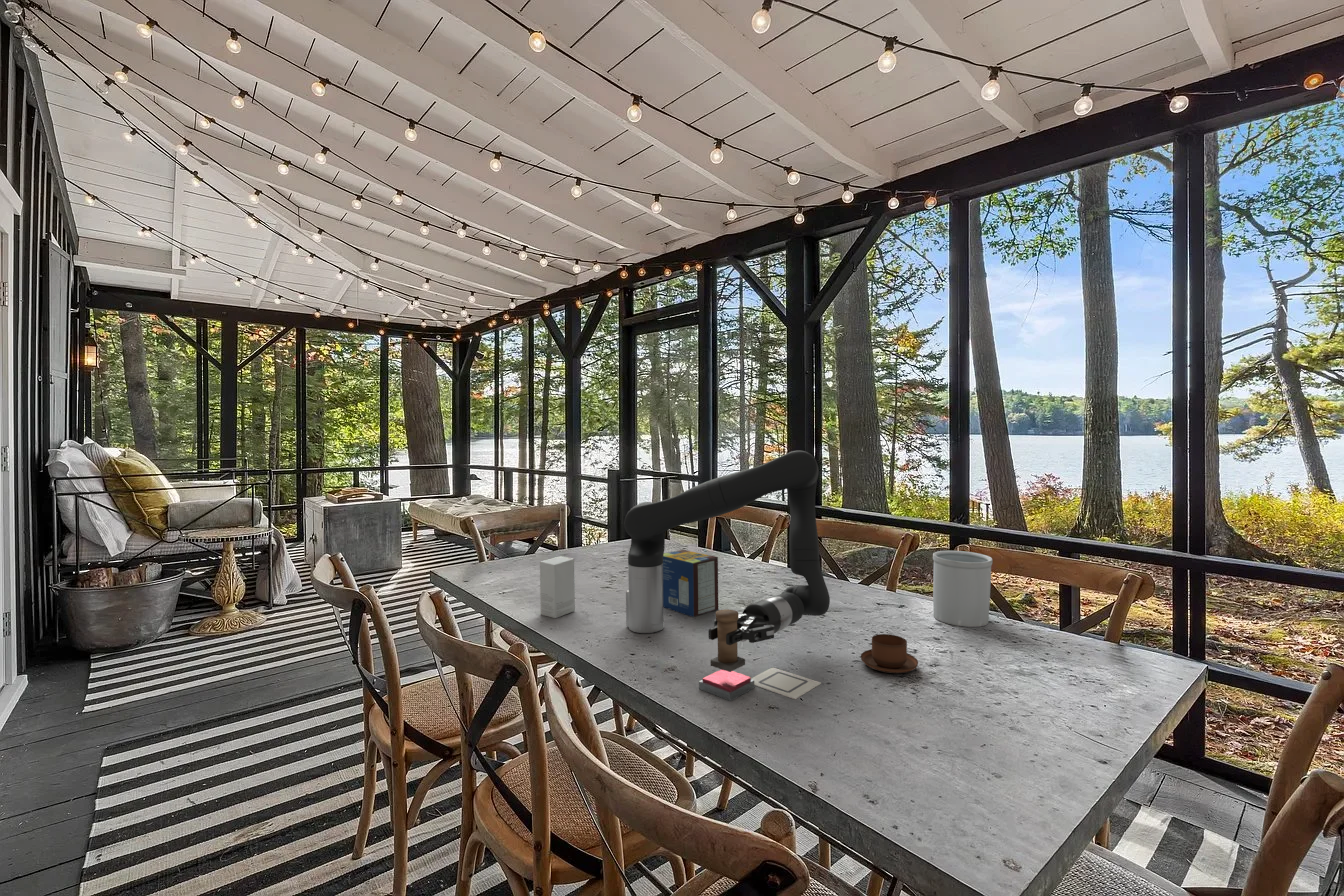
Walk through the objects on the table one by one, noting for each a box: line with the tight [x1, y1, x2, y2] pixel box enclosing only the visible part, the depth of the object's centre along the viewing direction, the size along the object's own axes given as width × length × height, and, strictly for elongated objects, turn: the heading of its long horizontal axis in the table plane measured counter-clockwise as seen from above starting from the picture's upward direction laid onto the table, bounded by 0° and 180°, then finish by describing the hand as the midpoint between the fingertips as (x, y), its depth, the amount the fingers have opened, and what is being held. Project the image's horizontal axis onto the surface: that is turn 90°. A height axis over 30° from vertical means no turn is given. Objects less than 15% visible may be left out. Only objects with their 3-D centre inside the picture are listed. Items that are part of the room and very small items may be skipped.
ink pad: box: [698, 669, 755, 702], centre depth 125 cm, size 8×8×2 cm
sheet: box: [751, 667, 822, 700], centre depth 128 cm, size 12×10×1 cm
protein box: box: [663, 549, 719, 618], centre depth 181 cm, size 10×15×16 cm
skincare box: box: [539, 555, 576, 619], centre depth 176 cm, size 8×7×16 cm
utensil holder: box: [932, 550, 993, 628], centre depth 168 cm, size 15×15×18 cm
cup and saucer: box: [860, 633, 919, 674], centre depth 136 cm, size 12×12×6 cm
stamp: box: [709, 608, 746, 672], centre depth 125 cm, size 5×5×11 cm
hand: (718, 637), depth 123 cm, fingers closed on stamp, 4 cm apart
